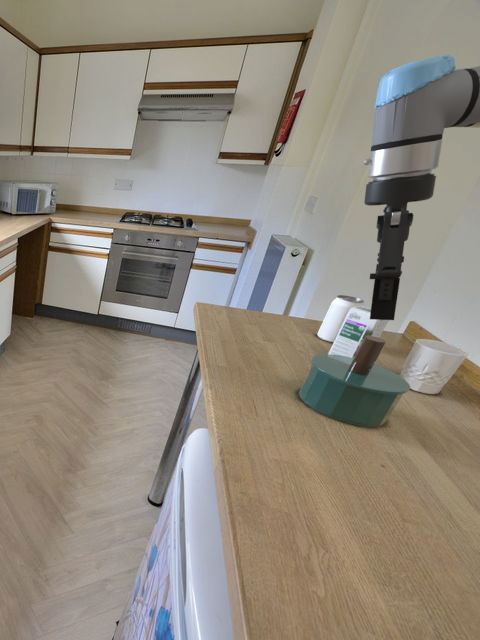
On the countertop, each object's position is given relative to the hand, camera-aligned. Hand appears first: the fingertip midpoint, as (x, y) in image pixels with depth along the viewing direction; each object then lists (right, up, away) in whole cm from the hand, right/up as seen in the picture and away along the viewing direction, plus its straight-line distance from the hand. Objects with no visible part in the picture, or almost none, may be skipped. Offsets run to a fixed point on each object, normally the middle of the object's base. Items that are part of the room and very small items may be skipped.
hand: (382, 309), depth 69 cm
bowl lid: (+6, -12, +10) cm, 17 cm away
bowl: (+5, -19, +14) cm, 24 cm away
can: (+31, -5, +45) cm, 55 cm away
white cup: (+31, -16, +23) cm, 41 cm away
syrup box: (+21, -12, +30) cm, 39 cm away
